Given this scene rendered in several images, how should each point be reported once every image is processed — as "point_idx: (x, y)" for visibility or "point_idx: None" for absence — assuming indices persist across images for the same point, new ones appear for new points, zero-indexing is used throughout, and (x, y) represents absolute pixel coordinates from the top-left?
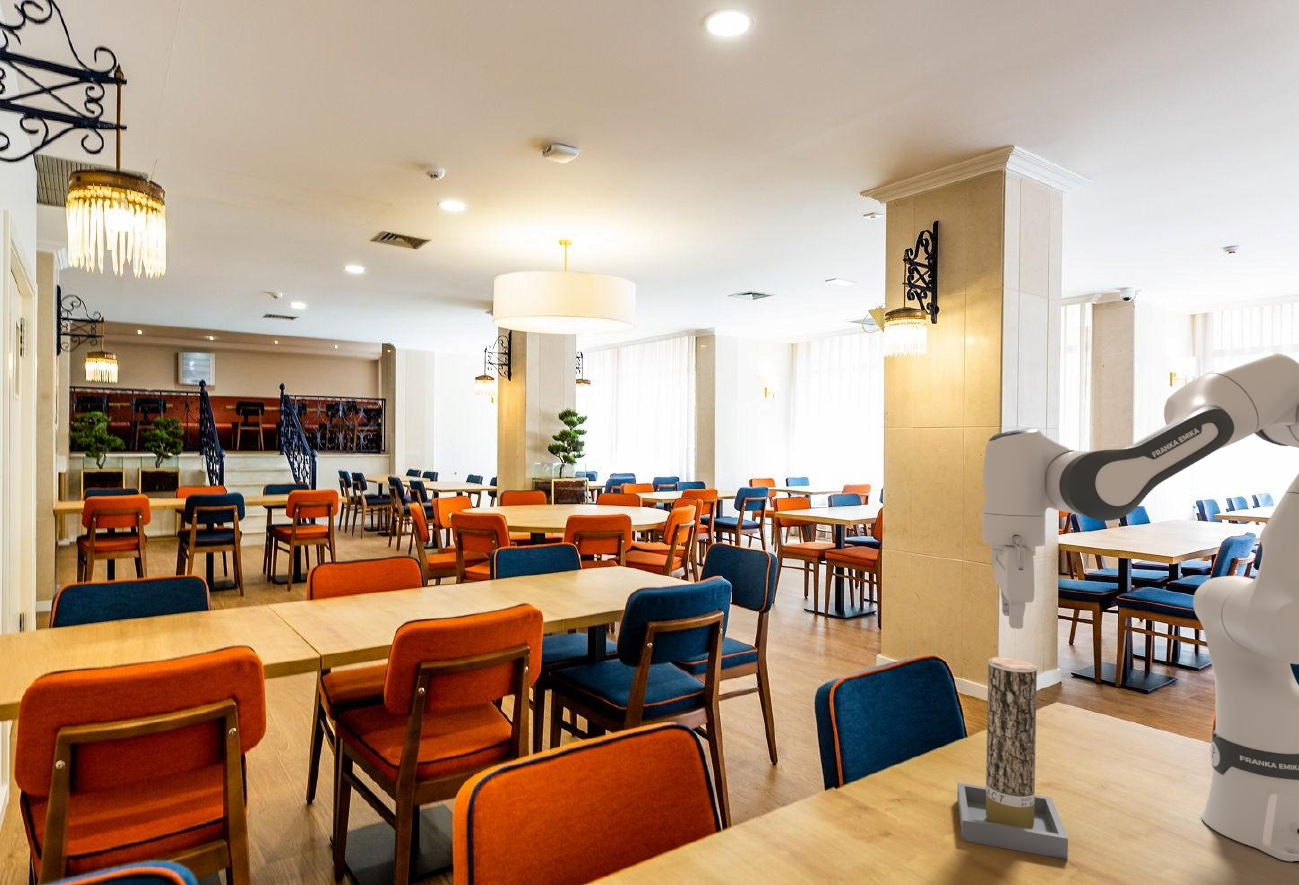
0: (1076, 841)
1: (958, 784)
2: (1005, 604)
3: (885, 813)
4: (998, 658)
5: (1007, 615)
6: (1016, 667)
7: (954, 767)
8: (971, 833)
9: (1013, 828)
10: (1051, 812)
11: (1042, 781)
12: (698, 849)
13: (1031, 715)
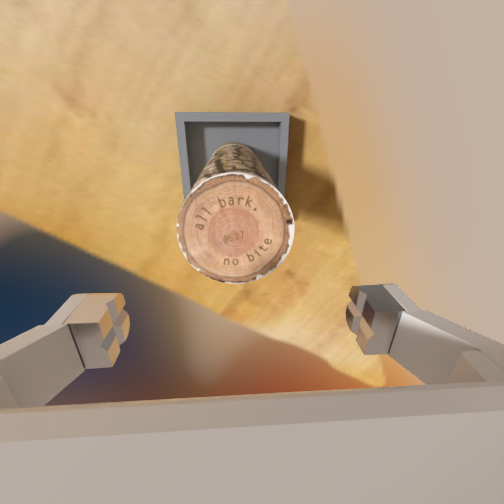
0: (236, 93)
1: None
2: (97, 359)
3: None
4: (206, 262)
5: (128, 315)
6: (284, 228)
7: (91, 215)
8: None
9: (284, 171)
10: (224, 120)
11: (63, 105)
12: (351, 371)
13: (264, 169)
